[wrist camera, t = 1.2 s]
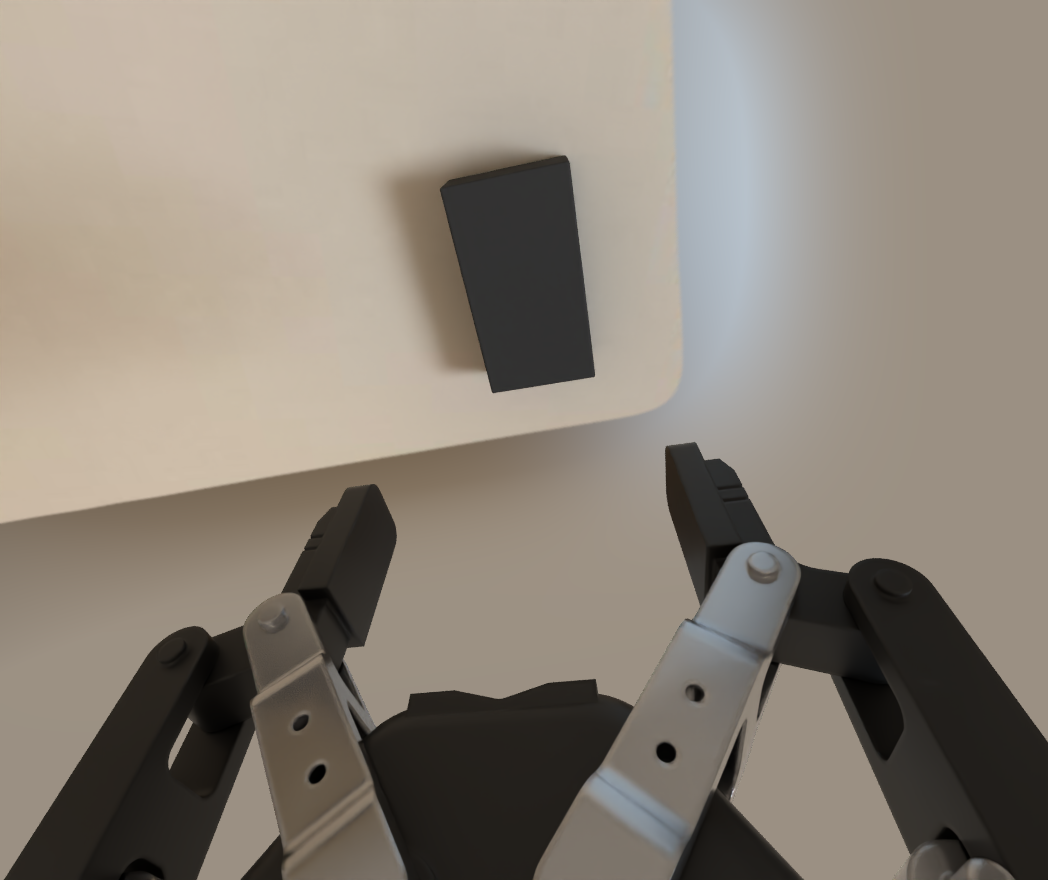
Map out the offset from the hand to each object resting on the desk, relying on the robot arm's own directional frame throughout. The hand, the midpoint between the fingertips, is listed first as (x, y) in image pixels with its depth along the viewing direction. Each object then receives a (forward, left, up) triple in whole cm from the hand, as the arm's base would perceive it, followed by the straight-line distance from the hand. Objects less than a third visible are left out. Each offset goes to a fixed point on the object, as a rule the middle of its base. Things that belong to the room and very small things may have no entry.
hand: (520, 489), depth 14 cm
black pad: (-1, -1, -15) cm, 15 cm away
